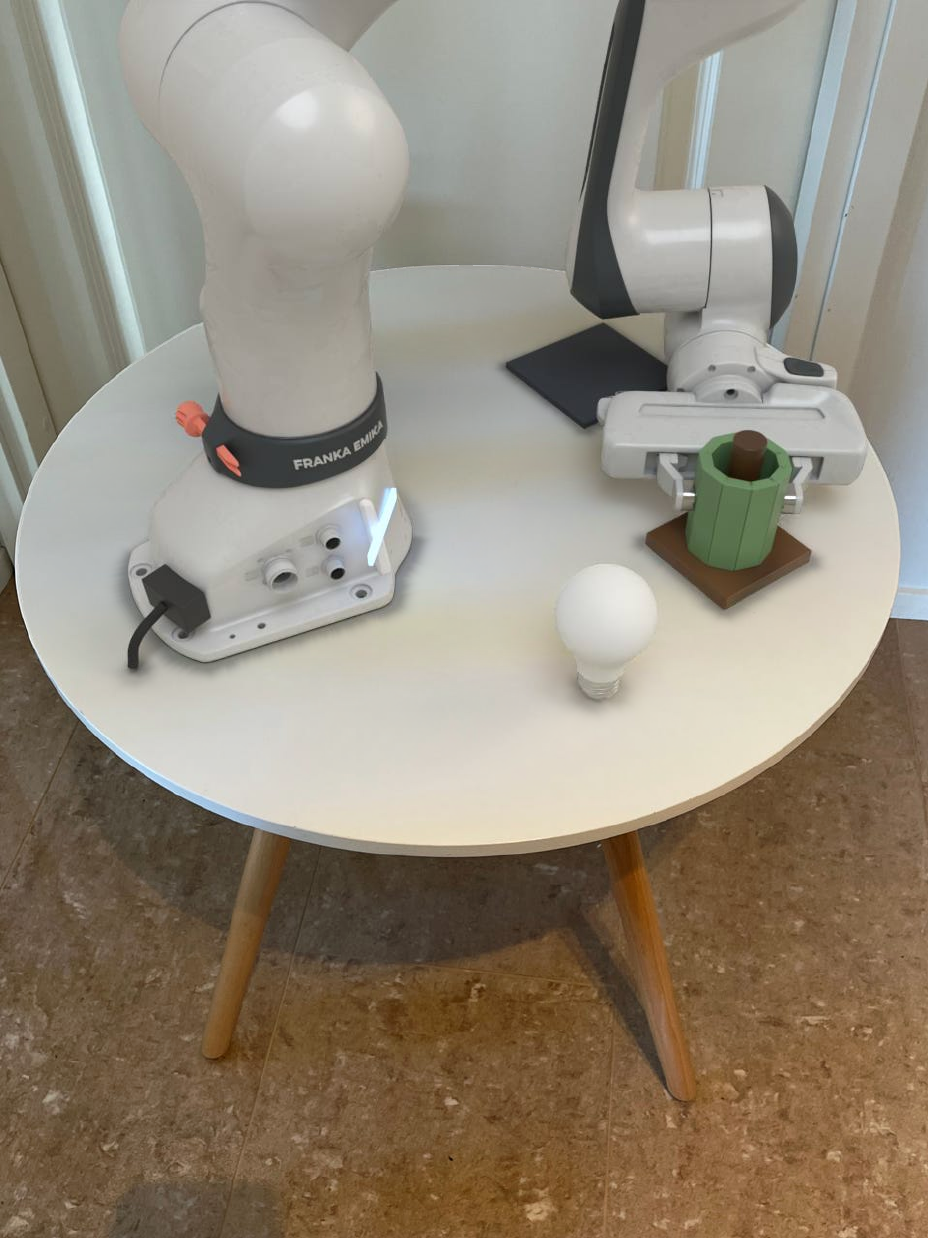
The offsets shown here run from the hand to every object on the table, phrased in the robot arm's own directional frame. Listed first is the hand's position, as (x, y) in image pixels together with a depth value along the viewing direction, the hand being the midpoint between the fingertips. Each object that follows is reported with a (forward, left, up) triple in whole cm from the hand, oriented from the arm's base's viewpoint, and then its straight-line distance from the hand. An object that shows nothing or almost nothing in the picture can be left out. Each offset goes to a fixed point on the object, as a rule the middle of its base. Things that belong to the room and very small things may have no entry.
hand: (738, 505), depth 78 cm
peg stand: (+1, +1, -6) cm, 6 cm away
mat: (+8, +26, -6) cm, 27 cm away
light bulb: (-16, -4, -6) cm, 18 cm away
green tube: (+1, +1, -4) cm, 4 cm away
